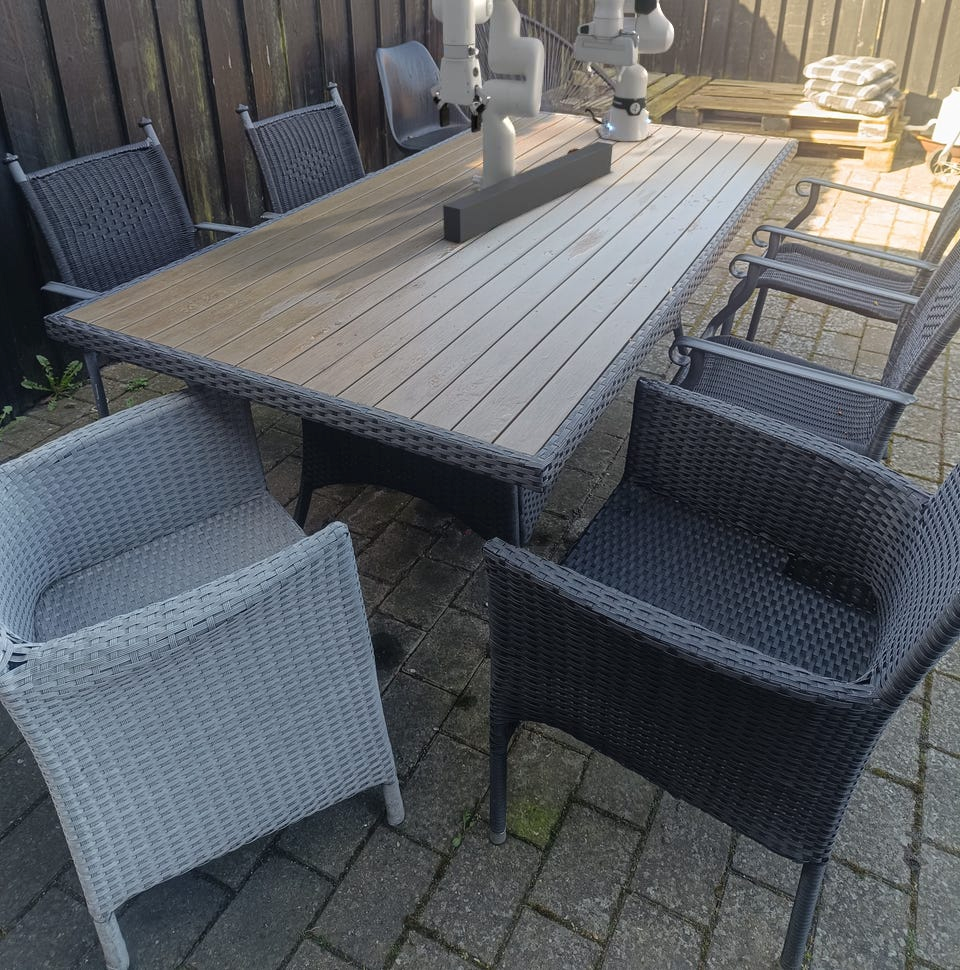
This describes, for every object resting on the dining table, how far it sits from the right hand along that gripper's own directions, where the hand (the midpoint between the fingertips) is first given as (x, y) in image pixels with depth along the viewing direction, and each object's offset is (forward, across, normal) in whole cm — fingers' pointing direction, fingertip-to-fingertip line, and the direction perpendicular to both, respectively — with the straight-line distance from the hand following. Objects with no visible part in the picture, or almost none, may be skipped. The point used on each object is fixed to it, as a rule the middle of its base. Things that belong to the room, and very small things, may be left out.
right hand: (603, 79), depth 256 cm
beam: (+28, 0, +36) cm, 46 cm away
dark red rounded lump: (+28, +12, -9) cm, 32 cm away
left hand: (+1, 0, +73) cm, 73 cm away
